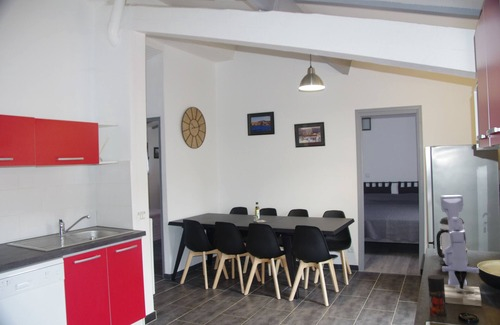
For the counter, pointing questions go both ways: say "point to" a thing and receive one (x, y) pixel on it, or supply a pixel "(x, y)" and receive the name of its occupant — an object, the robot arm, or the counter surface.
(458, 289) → the ball
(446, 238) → the coffee press
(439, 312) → the spice jar
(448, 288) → the block
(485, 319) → the counter surface
